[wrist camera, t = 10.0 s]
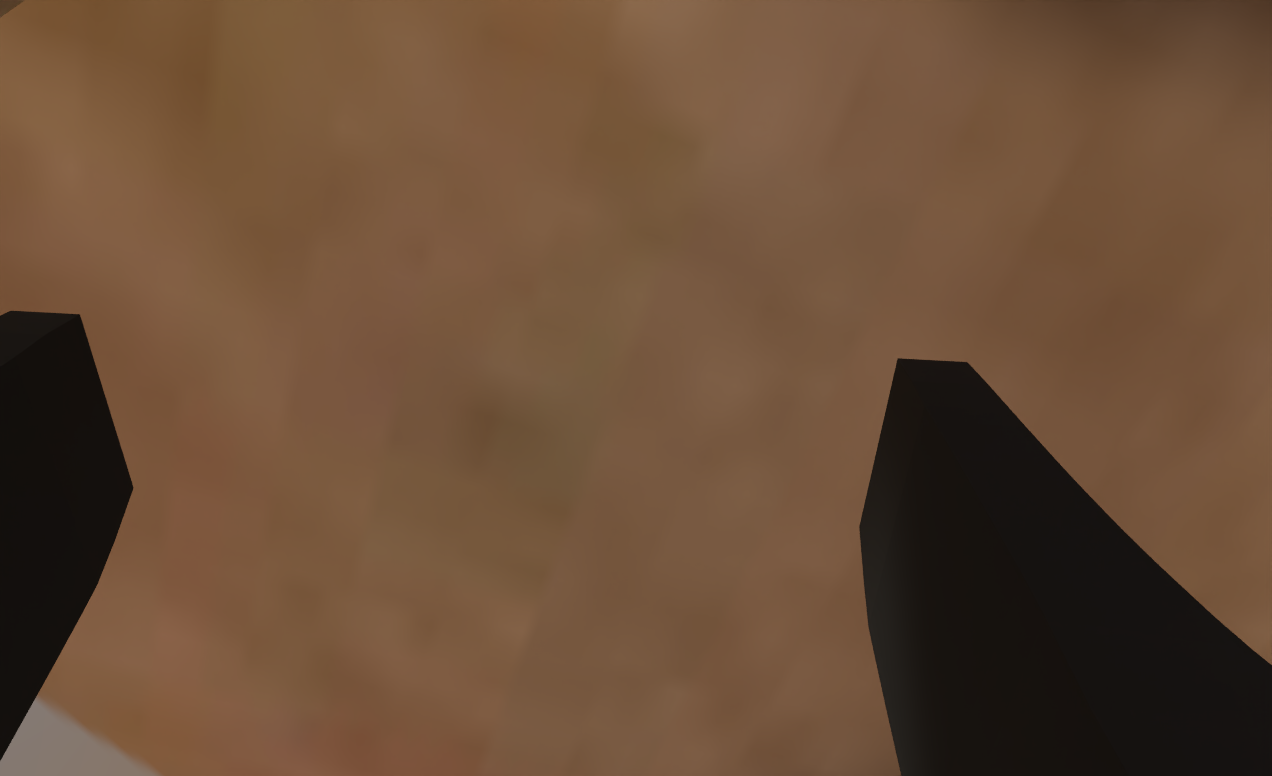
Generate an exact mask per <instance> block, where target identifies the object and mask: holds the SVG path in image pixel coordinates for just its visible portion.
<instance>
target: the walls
mask: <svg viewBox="0 0 1272 776" xmlns="http://www.w3.org/2000/svg"><path fill="white" fill-rule="evenodd" d="M23 1H24V0H0V17H2V16H3V15H4V14H6V13H7V12H9V11H10V10H11V9H13V8H14V7H16V6H17V5H19V4H20V3H21V2H23Z"/></svg>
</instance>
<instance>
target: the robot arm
mask: <svg viewBox="0 0 1272 776" xmlns="http://www.w3.org/2000/svg"><path fill="white" fill-rule="evenodd" d="M132 491H133V485H132V481H131V478H130V475H129V472H128V469H127V465H126V462H125V459H124V456H123V452H122V449H121V446H120V443H119V439H118V436H117V433H116V430H115V427H114V423H113V420H112V417H111V414H110V410H109V407H108V404H107V401H106V397H105V394H104V391H103V388H102V385H101V381H100V378H99V375H98V372H97V368H96V365H95V362H94V359H93V356H92V352H91V349H90V346H89V343H88V339H87V336H86V333H85V330H84V326H83V323H82V320H81V317H80V314H62V313H43V312H24V311H9V312H7V313H5V314H3V315H1V316H0V760H1V759H2V757H3V755H4V753H5V751H6V750H7V748H8V746H9V744H10V743H11V741H12V739H13V737H14V735H15V734H16V732H17V730H18V728H19V726H20V725H21V723H22V721H23V719H24V717H25V716H26V714H27V712H28V710H29V708H30V707H31V705H32V703H33V701H34V700H35V698H36V696H37V694H38V692H39V691H40V689H41V687H42V685H43V684H44V682H45V680H46V678H47V676H48V675H49V673H50V671H51V669H52V667H53V666H54V664H55V662H56V660H57V658H58V657H59V655H60V653H61V651H62V649H63V647H64V646H65V644H66V642H67V640H68V638H69V636H70V635H71V633H72V631H73V629H74V627H75V625H76V624H77V622H78V620H79V618H80V616H81V614H82V613H83V611H84V609H85V607H86V605H87V603H88V601H89V599H90V597H91V596H92V594H93V592H94V590H95V588H96V586H97V584H98V581H99V579H100V576H101V574H102V571H103V569H104V566H105V564H106V561H107V559H108V556H109V554H110V551H111V549H112V546H113V544H114V541H115V539H116V536H117V533H118V530H119V527H120V524H121V522H122V519H123V516H124V513H125V510H126V508H127V505H128V502H129V499H130V496H131V493H132ZM859 528H860V540H861V552H862V564H863V576H864V587H865V597H866V607H867V616H868V626H869V631H870V636H871V641H872V645H873V650H874V655H875V659H876V664H877V668H878V673H879V678H880V682H881V687H882V691H883V696H884V700H885V705H886V709H887V714H888V718H889V723H890V727H891V732H892V736H893V740H894V745H895V749H896V754H897V758H898V763H899V767H900V771H901V776H1272V665H1271V664H1269V663H1268V662H1267V661H1266V660H1264V659H1263V658H1262V657H1261V656H1260V655H1258V654H1257V653H1256V652H1255V651H1253V650H1252V649H1251V648H1250V647H1249V646H1247V645H1246V644H1245V643H1244V642H1243V641H1242V640H1241V639H1239V638H1238V637H1237V636H1236V635H1235V634H1234V633H1232V632H1231V631H1230V630H1229V629H1228V628H1227V627H1225V626H1224V625H1223V624H1222V623H1221V622H1220V621H1219V620H1217V619H1216V618H1215V617H1214V616H1213V615H1212V614H1211V613H1210V612H1209V611H1207V610H1206V609H1205V608H1204V607H1203V606H1202V605H1201V604H1200V603H1199V602H1198V601H1197V600H1196V599H1195V598H1193V597H1192V596H1191V595H1190V594H1189V593H1188V592H1187V591H1186V590H1185V589H1184V588H1183V587H1182V586H1181V585H1180V584H1178V583H1177V582H1176V581H1175V580H1174V579H1173V578H1172V577H1171V576H1170V575H1169V574H1168V573H1167V572H1166V571H1164V570H1163V569H1162V568H1161V567H1160V566H1159V565H1158V564H1157V563H1156V562H1155V561H1154V560H1153V559H1152V558H1151V557H1150V556H1149V555H1148V554H1147V553H1146V552H1144V551H1143V550H1142V549H1141V548H1140V547H1139V546H1138V545H1137V544H1136V543H1135V542H1134V541H1133V540H1132V539H1131V538H1130V537H1129V536H1128V535H1127V534H1126V533H1125V532H1124V531H1123V530H1122V529H1121V528H1120V527H1119V526H1118V525H1117V524H1116V523H1115V522H1114V521H1113V520H1112V519H1111V518H1110V517H1109V516H1108V515H1107V514H1106V513H1105V511H1104V510H1103V509H1102V508H1101V507H1100V506H1099V505H1098V504H1097V503H1096V502H1095V501H1094V500H1093V499H1092V498H1091V497H1090V496H1089V495H1088V494H1087V493H1086V492H1085V491H1084V490H1083V489H1082V487H1081V486H1080V485H1079V484H1078V483H1077V482H1076V481H1075V480H1074V479H1073V478H1072V477H1071V476H1070V475H1069V474H1068V473H1067V471H1066V470H1065V469H1064V468H1063V467H1062V466H1061V465H1060V464H1059V463H1058V462H1057V461H1056V460H1055V459H1054V457H1053V456H1052V455H1051V454H1050V453H1049V452H1048V451H1047V450H1046V449H1045V447H1044V446H1043V445H1042V444H1041V443H1040V442H1039V441H1038V440H1037V439H1036V438H1035V436H1034V435H1033V434H1032V433H1031V432H1030V431H1029V430H1028V429H1027V428H1026V427H1025V425H1024V424H1023V423H1022V422H1021V421H1020V420H1019V419H1018V418H1017V416H1016V415H1015V414H1014V413H1013V412H1012V411H1011V410H1010V409H1009V407H1008V406H1007V405H1006V404H1005V403H1004V402H1003V401H1002V400H1001V398H1000V397H999V396H998V395H997V394H996V393H995V392H994V391H993V390H992V388H991V387H990V386H989V385H988V384H987V383H986V382H985V381H984V380H983V378H982V377H981V376H980V375H979V374H978V373H977V372H976V371H975V370H974V369H973V368H972V367H971V366H970V365H969V364H968V363H967V362H954V361H935V360H916V359H898V360H897V364H896V368H895V373H894V377H893V382H892V386H891V390H890V395H889V399H888V404H887V408H886V412H885V417H884V421H883V425H882V430H881V434H880V439H879V443H878V447H877V452H876V456H875V461H874V465H873V469H872V474H871V478H870V483H869V487H868V491H867V496H866V500H865V505H864V509H863V513H862V518H861V522H860V527H859Z"/></svg>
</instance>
